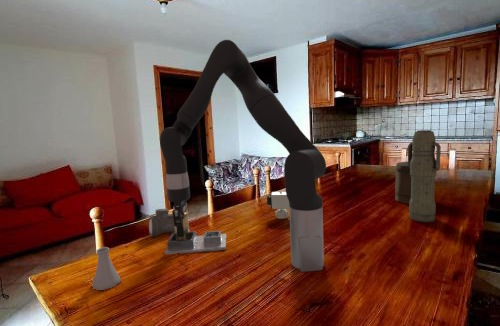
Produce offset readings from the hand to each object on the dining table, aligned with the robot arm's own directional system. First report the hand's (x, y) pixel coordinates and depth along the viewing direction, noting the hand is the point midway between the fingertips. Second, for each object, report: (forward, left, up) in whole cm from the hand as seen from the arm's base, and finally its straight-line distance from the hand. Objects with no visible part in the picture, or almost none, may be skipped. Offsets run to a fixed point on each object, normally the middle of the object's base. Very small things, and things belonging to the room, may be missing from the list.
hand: (182, 233), depth 101 cm
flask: (-22, +17, -5) cm, 28 cm away
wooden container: (+34, -105, -5) cm, 110 cm away
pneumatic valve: (+23, -39, -5) cm, 45 cm away
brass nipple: (0, 0, -2) cm, 2 cm away
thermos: (+9, -93, -5) cm, 93 cm away
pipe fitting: (+14, +9, -5) cm, 17 cm away
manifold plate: (0, -5, -5) cm, 7 cm away
